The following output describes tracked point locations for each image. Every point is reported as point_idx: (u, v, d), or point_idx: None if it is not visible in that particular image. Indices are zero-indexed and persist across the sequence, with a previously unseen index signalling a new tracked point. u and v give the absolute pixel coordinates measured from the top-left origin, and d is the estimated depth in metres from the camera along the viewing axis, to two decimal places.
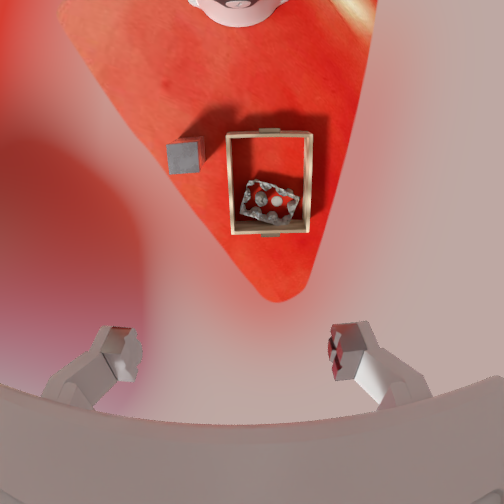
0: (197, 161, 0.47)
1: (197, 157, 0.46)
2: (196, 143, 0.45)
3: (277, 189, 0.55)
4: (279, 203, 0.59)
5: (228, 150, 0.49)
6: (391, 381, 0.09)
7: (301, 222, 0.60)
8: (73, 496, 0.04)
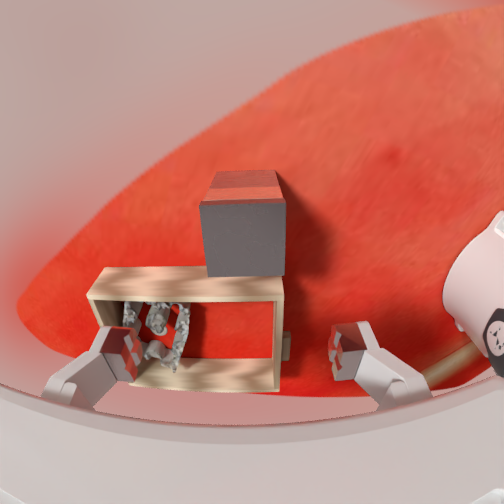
0: (235, 274, 0.20)
1: (245, 274, 0.20)
2: (280, 273, 0.20)
3: (180, 345, 0.32)
4: (155, 332, 0.35)
5: (251, 299, 0.25)
6: (391, 381, 0.09)
7: None
8: (73, 496, 0.04)
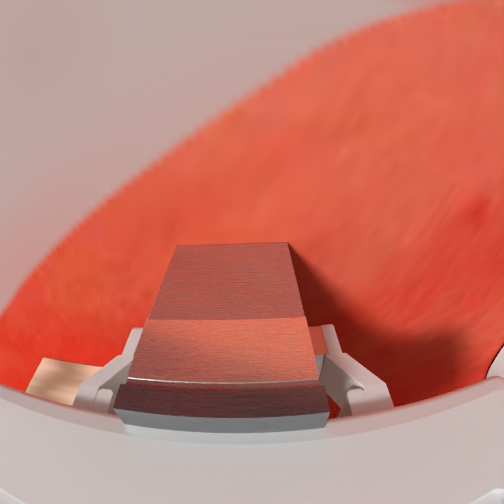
0: None
1: None
2: None
3: None
4: None
5: None
6: (352, 388, 0.09)
7: None
8: (73, 496, 0.04)
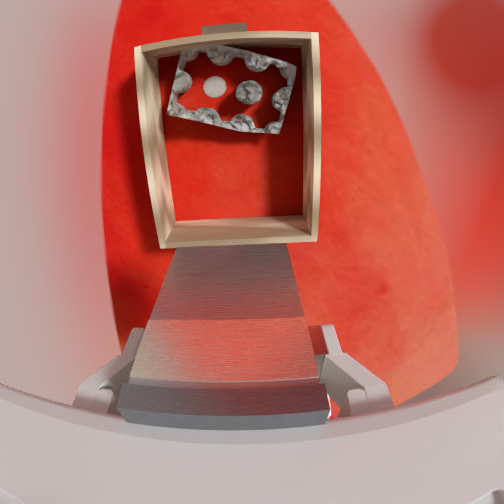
0: None
1: None
2: None
3: (217, 121, 0.24)
4: (208, 83, 0.25)
5: (315, 214, 0.26)
6: (352, 388, 0.09)
7: (157, 55, 0.22)
8: (73, 496, 0.04)
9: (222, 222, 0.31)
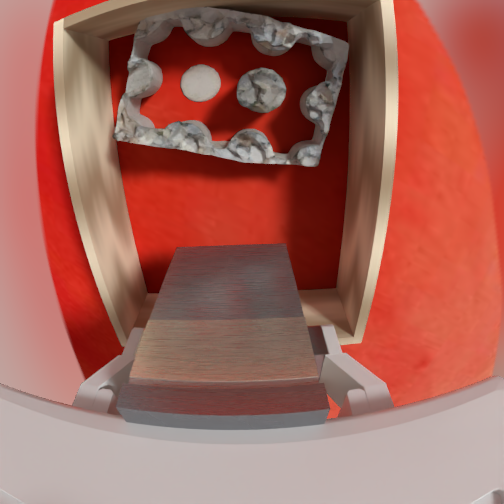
0: None
1: None
2: None
3: (204, 145, 0.13)
4: (189, 77, 0.14)
5: (364, 308, 0.15)
6: (352, 388, 0.09)
7: (102, 35, 0.11)
8: (73, 496, 0.04)
9: None
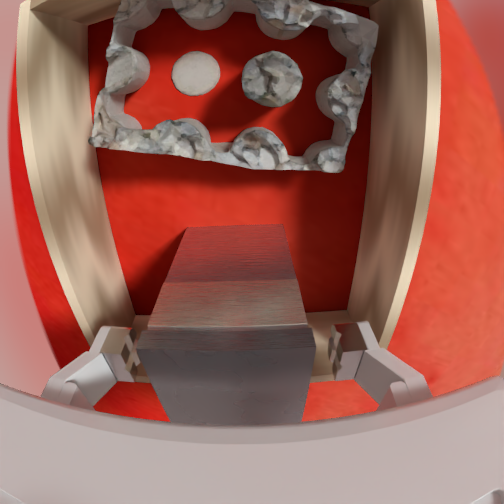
0: None
1: None
2: None
3: (202, 149, 0.11)
4: (181, 66, 0.11)
5: (384, 340, 0.13)
6: (391, 381, 0.09)
7: (79, 18, 0.08)
8: (73, 496, 0.04)
9: None
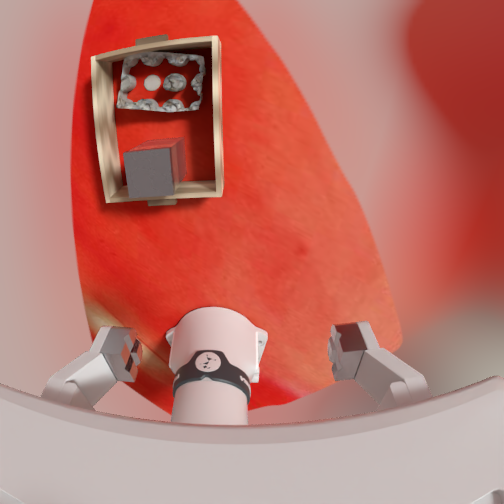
0: (144, 195, 0.30)
1: (150, 195, 0.30)
2: (171, 194, 0.31)
3: (152, 107, 0.31)
4: (147, 80, 0.31)
5: (217, 174, 0.33)
6: (391, 381, 0.09)
7: (109, 61, 0.28)
8: (73, 496, 0.04)
9: None
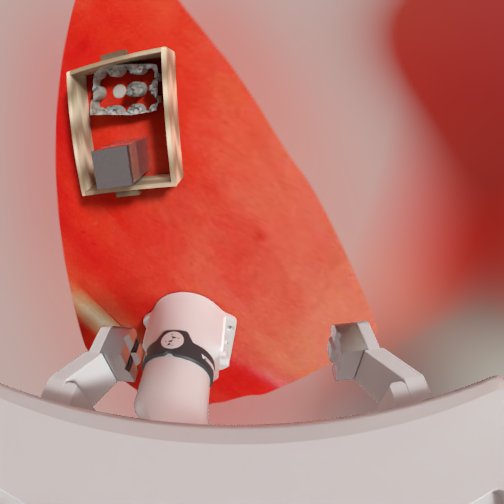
0: (109, 186, 0.34)
1: (113, 186, 0.34)
2: (130, 184, 0.34)
3: (118, 111, 0.35)
4: (115, 89, 0.35)
5: (171, 166, 0.37)
6: (391, 381, 0.09)
7: (83, 74, 0.32)
8: (73, 496, 0.04)
9: None
